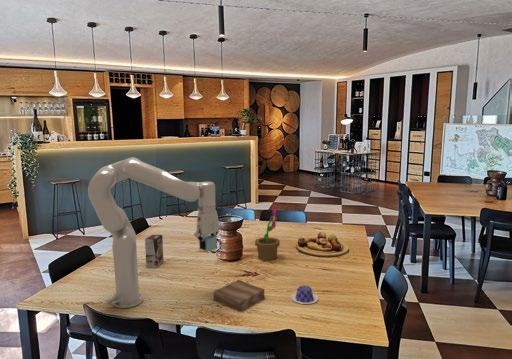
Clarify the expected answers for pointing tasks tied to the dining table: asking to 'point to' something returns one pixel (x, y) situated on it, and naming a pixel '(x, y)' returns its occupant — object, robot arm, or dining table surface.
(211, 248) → the teal cube
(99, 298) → the dining table surface
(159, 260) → the coffee box
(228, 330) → the dining table surface
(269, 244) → the flowerpot
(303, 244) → the wooden plate with food
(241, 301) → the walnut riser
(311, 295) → the pudding
